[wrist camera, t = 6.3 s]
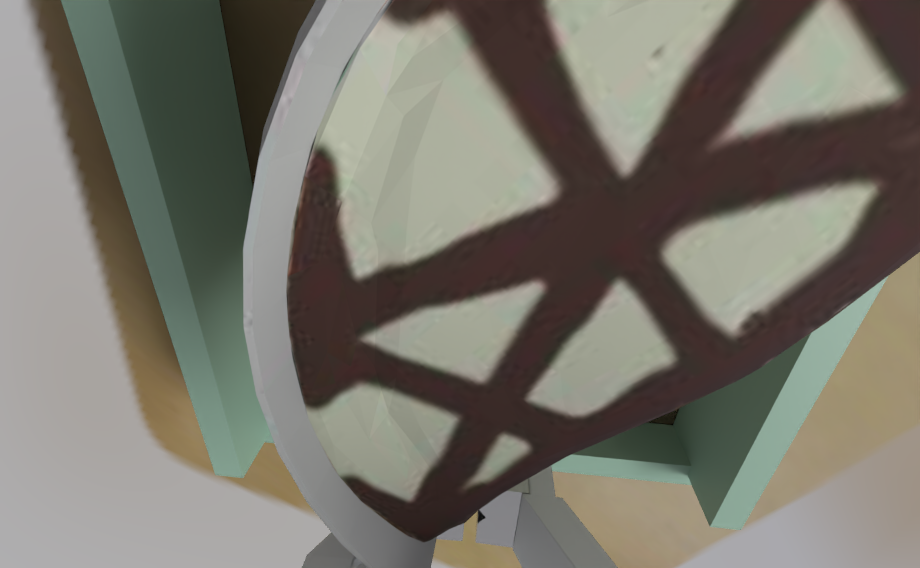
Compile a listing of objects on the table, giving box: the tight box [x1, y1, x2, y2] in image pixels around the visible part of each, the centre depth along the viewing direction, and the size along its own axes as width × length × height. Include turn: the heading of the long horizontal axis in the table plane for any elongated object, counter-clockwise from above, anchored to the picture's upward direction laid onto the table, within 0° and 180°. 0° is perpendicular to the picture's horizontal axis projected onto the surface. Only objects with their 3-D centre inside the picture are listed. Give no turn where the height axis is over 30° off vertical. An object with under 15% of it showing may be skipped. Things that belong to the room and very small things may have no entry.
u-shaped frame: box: [61, 0, 889, 530], centre depth 13 cm, size 16×18×4 cm
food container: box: [243, 0, 920, 568], centre depth 8 cm, size 12×6×10 cm, turn 136°
